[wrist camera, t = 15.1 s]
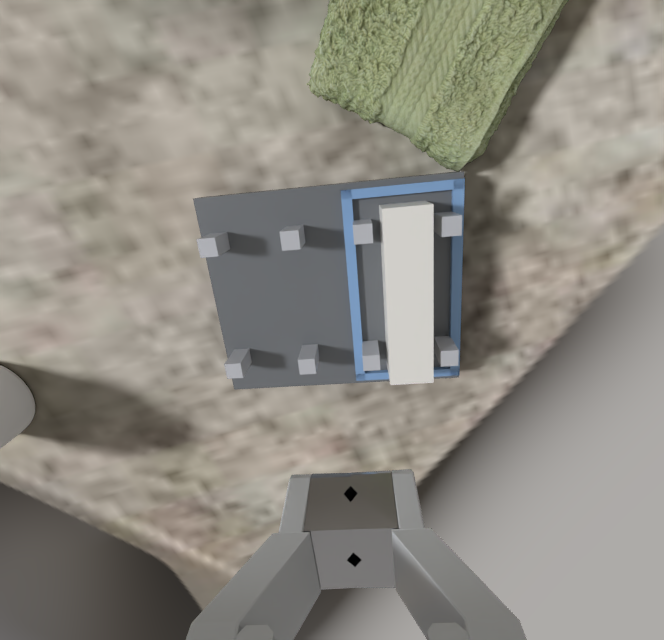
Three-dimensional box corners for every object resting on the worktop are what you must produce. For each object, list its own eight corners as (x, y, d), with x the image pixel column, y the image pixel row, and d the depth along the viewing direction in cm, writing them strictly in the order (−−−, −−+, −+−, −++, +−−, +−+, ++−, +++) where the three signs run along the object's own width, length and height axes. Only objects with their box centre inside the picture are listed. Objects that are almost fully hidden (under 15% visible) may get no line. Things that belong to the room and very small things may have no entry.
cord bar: (378, 204, 25) (382, 208, 22) (424, 200, 25) (433, 203, 22) (386, 364, 29) (390, 384, 27) (426, 362, 29) (433, 382, 26)
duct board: (204, 197, 28) (176, 201, 23) (456, 171, 26) (475, 171, 22) (241, 377, 33) (224, 406, 29) (452, 365, 31) (467, 394, 27)
